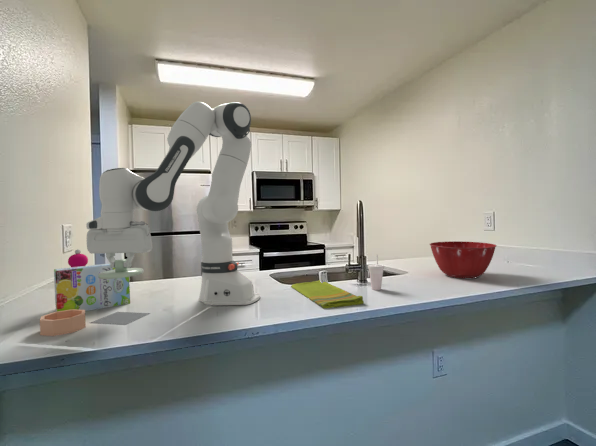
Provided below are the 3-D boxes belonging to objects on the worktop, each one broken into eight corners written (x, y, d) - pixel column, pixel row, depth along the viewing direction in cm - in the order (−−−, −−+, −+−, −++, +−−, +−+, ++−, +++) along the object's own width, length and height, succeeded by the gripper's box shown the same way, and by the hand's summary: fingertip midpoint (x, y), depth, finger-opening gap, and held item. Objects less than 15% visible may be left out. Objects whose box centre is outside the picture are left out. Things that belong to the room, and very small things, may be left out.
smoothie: (386, 290, 130) (385, 255, 130) (370, 291, 130) (369, 255, 130) (382, 287, 137) (381, 253, 136) (366, 287, 137) (366, 254, 136)
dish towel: (323, 310, 107) (323, 300, 107) (290, 288, 141) (289, 280, 141) (365, 305, 112) (364, 296, 112) (323, 285, 146) (322, 277, 146)
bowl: (94, 325, 95) (93, 310, 95) (62, 338, 85) (62, 321, 85) (65, 324, 97) (64, 308, 97) (31, 336, 87) (30, 319, 87)
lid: (151, 270, 104) (150, 256, 104) (124, 278, 93) (123, 263, 93) (118, 271, 107) (117, 257, 107) (88, 278, 95) (87, 263, 95)
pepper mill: (88, 301, 123) (87, 247, 123) (93, 304, 118) (91, 249, 118) (65, 305, 118) (63, 249, 118) (69, 308, 113) (67, 250, 113)
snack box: (126, 302, 121) (125, 261, 121) (130, 305, 117) (129, 262, 116) (55, 314, 108) (53, 268, 107) (56, 317, 103) (54, 270, 103)
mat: (150, 315, 104) (150, 313, 104) (125, 326, 93) (125, 324, 93) (117, 313, 106) (117, 311, 106) (89, 324, 96) (89, 322, 96)
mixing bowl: (503, 283, 139) (502, 247, 139) (430, 280, 149) (430, 246, 149) (490, 272, 166) (490, 241, 165) (429, 269, 176) (429, 241, 175)
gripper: (155, 220, 100) (158, 265, 101) (98, 222, 104) (100, 266, 105) (141, 221, 94) (144, 269, 95) (81, 223, 98) (84, 269, 99)
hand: (121, 267), depth 100 cm, fingers closed on lid, 3 cm apart
